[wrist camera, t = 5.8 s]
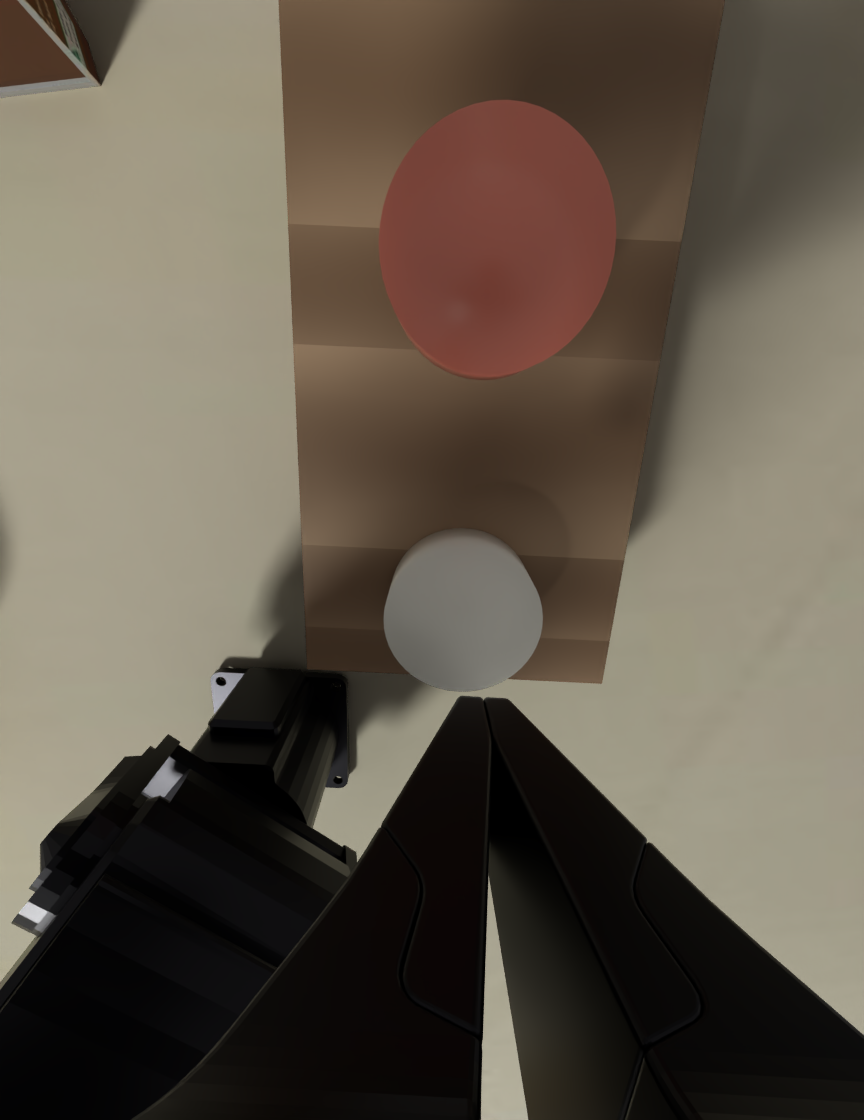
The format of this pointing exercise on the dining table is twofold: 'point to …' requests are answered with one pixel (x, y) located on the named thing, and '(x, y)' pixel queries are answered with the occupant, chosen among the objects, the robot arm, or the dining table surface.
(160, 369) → the dining table surface
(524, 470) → the walnut plug block
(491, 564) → the grey plug
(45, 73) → the food container
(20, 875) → the dining table surface
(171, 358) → the dining table surface
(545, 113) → the salmon round-head knob
